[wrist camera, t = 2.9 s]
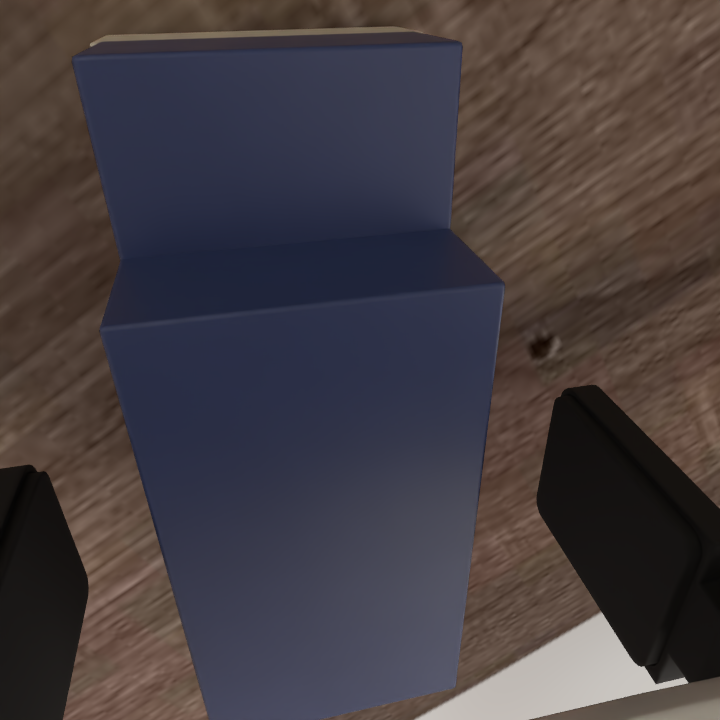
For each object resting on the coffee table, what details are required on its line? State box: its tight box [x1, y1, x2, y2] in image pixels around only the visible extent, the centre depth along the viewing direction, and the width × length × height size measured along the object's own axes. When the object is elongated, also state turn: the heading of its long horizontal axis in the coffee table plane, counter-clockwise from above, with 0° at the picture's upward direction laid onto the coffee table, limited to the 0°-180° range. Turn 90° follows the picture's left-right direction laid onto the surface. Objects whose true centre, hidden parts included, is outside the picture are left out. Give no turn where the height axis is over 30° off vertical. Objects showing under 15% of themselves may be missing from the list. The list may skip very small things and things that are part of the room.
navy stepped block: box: [72, 26, 505, 720], centre depth 11 cm, size 5×12×6 cm, turn 1°
